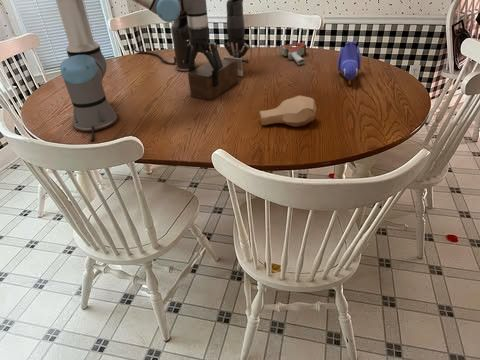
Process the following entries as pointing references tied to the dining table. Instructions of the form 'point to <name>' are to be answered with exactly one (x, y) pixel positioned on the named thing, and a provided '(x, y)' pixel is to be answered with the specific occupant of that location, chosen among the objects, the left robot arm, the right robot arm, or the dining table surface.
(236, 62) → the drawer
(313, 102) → the squash
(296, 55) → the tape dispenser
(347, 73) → the toy
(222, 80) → the dark brown box
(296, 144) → the dining table surface
